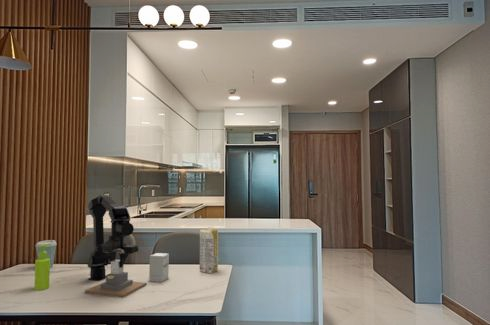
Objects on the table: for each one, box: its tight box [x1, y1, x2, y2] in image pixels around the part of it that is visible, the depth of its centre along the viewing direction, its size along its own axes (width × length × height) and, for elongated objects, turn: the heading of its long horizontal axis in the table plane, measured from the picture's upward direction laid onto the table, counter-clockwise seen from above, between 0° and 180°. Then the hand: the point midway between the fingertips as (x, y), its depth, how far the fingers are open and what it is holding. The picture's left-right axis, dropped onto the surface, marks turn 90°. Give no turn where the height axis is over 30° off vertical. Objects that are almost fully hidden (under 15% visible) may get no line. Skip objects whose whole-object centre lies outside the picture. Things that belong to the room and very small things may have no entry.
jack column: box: [110, 259, 125, 275], centre depth 162 cm, size 4×4×10 cm
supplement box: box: [148, 252, 170, 283], centre depth 177 cm, size 7×7×13 cm
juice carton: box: [199, 226, 219, 274], centre depth 193 cm, size 9×8×24 cm
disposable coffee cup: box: [35, 239, 58, 269], centre depth 200 cm, size 11×11×15 cm
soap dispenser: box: [34, 244, 52, 291], centre depth 163 cm, size 6×7×20 cm
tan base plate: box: [84, 271, 148, 298], centre depth 162 cm, size 20×18×7 cm
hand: (117, 267), depth 162 cm, fingers closed on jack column, 4 cm apart
